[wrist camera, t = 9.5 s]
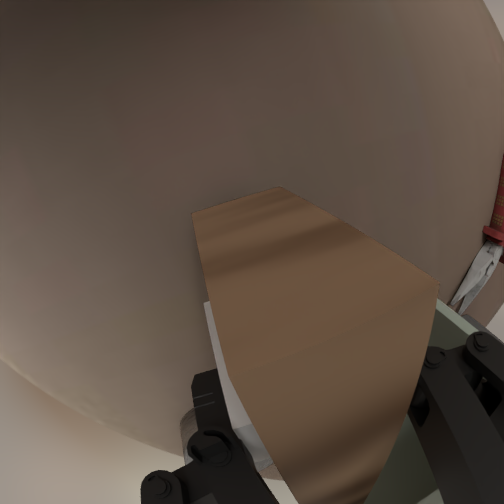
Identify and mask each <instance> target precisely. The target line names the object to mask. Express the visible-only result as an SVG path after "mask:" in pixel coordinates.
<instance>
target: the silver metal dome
mask: <svg viewBox="0 0 504 504" xmlns="http://www.w3.org/2000/svg"><path fill="white" fill-rule="evenodd" d="M180 430H181V438H182V446H183V453H184V460H185V465H187V464H188V463H190V462H191V461H192V460H193V459H192V458H191V457H190V456H189V455H188V453H187V444H188V441H189V439H190V437H191V436H192V435H193V434H194V433H195V432H197V431H198V428H197V422H196V416H195V408H193V409H192V410H190V411H189V412H188V413H186V414H185V415H184V417H183V418H182V420H181V423H180ZM272 463H273V460H272V459H271V457H270V458H267V459H264V460H260V461H257V462H255V461H254V464H255V467H256V470H257V471H258V472H259V471H261V470H263V469H265V468H266V467H268V466H269V465H271V464H272Z"/></svg>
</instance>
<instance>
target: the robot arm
mask: <svg viewBox="0 0 504 504" xmlns="http://www.w3.org/2000/svg"><path fill="white" fill-rule="evenodd" d="M203 304H204V309H205V314H206V319H207V324H208V328H209V333H210V338H211V342H212V347H213V351H214V356H215V360H216V365H217V368H216V369H213V370H210V371H206V372H203V373H199V374H196V375H195V376H194V379H193V382H192V385H191V388H192V396H193V403H194V407H195V416H196V422H197V428H198V431H197V432H195V433H194V434H193V435H192V436H191V437H190V439H189V441H188V444H187V453H188V455H189V456H190V457H191V458H192V459H193V460H192V461H191V462H190V463H188V464H187V465H185V466H183V467H181V468H179V469H177V470H175V471H174V472H168V471H165V470H158V471H154V472H151V473H150V474H148V475H147V476H146V477H145V478H144V480H143V481H142V484H141V504H279V502H278V501H277V499H276V498H275V496H274V495H273V494H272V492H271V491H270V489H269V488H268V486H267V485H266V483H265V482H264V480H263V479H262V477H261V475H260V474H259V473H258V471H257V470H256V467H255V464H254V461H255V462H257V461H260V460H264V459H267V458H270V455H269V453H268V452H267V450H266V448H265V446H264V444H263V443H262V441H261V439H260V437H259V435H258V433H257V432H256V430H255V428H254V426H253V424H252V422H251V420H250V418H249V416H248V415H247V413H246V411H245V409H244V407H243V405H242V403H241V401H240V399H239V397H238V395H237V393H236V391H235V389H234V387H233V385H232V383H231V381H230V379H229V377H228V373H227V369H226V365H225V362H224V358H223V354H222V350H221V346H220V342H219V338H218V334H217V330H216V326H215V322H214V318H213V314H212V309H211V305H210V301H208V302H205V303H203ZM483 377H484V378H485V379H483ZM407 415H408V416H409V418H410V421H411V423H412V425H413V427H414V430H415V432H416V434H417V437H418V439H419V441H420V444H421V446H422V448H423V451H424V453H425V455H426V458H427V460H428V463H429V465H430V468H431V470H432V473H433V475H434V478H435V481H436V483H437V486H438V489H439V491H440V494H441V497H442V500H443V502H444V504H504V345H503V344H502V343H501V342H499V341H498V340H497V339H496V338H494V337H493V336H492V335H490V334H488V333H487V332H482V331H477V332H474V333H472V334H470V335H469V337H468V338H467V340H466V343H465V345H462V346H459V347H456V348H453V349H449V350H444V349H442V348H440V347H436V346H430V347H429V346H427V350H426V354H425V358H424V362H423V365H422V369H421V372H420V376H419V379H418V382H417V385H416V388H415V391H414V394H413V397H412V400H411V403H410V406H409V409H408V411H407Z"/></svg>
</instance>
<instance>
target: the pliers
mask: <svg viewBox="0 0 504 504" xmlns="http://www.w3.org/2000/svg"><path fill="white" fill-rule="evenodd" d="M483 233H486V234H487V236H486V238H487V239H488V240H487V241H486V242H485V244H484V245H483V247H482V248H481V250H480V251H479V253H478V254H477V256H476V258H475V260H474V261H473V263H472V265H471V267H470V269H469V271H468V273H467V275H466V277H465V279H464V280H463V282H462V284H461V286H460V288H459V289H458V291H457V293H456V295H455V296H454V298H453V300H452V301H451V303H450V304H451V305H452V306H453V305H454V304H455V303H457V302H458V301H459V300H460V299H461V298H462V297H463V296H464V295H465V294H466V295H465V298H464V300H463V303H462V305H461V308H460V310H459V312H458V315H460V316H461V315H462V313H463V312H464V311H465V310H466V308H467V307H468V306H469V305H470V303H471V302H472V301H473V300H474V298H475V297H476V296H477V294H478V293H479V292H480V290H481V289H482V288H483V286H484V285H485V284H486V282H487V281H488V279H489V278H490V276H491V275H492V273H493V271H494V269H495V267H496V265H497V263H498V261H499V262H501V263H503V264H504V155H503V160H502V166H501V173H500V179H499V185H498V190H497V196H496V200H495V205H494V210H493V214H492V218H491V222H490V226H489V227H488V226H484V228H483Z"/></svg>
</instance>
